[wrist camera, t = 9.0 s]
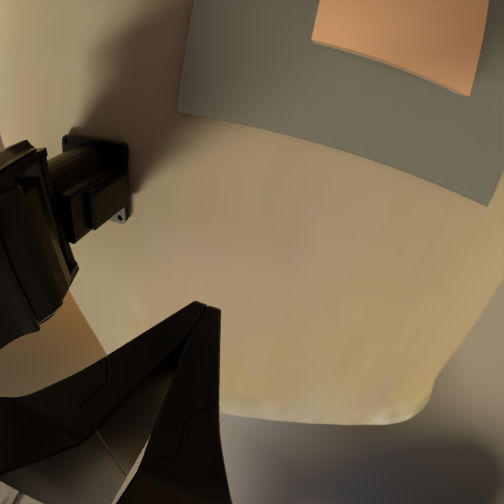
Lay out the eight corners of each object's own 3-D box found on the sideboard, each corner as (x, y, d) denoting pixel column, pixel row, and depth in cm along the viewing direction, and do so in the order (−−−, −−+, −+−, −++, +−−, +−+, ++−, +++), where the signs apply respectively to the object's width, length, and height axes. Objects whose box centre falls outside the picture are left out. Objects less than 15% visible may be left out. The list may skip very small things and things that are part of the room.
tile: (311, 39, 12) (469, 96, 11) (335, -76, 8) (490, -18, 7) (314, 44, 14) (454, 93, 13) (336, -60, 10) (474, -10, 9)
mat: (180, 111, 18) (176, 112, 18) (231, -123, 8) (228, -127, 8) (483, 203, 16) (486, 206, 16) (537, -31, 6) (541, -33, 5)
